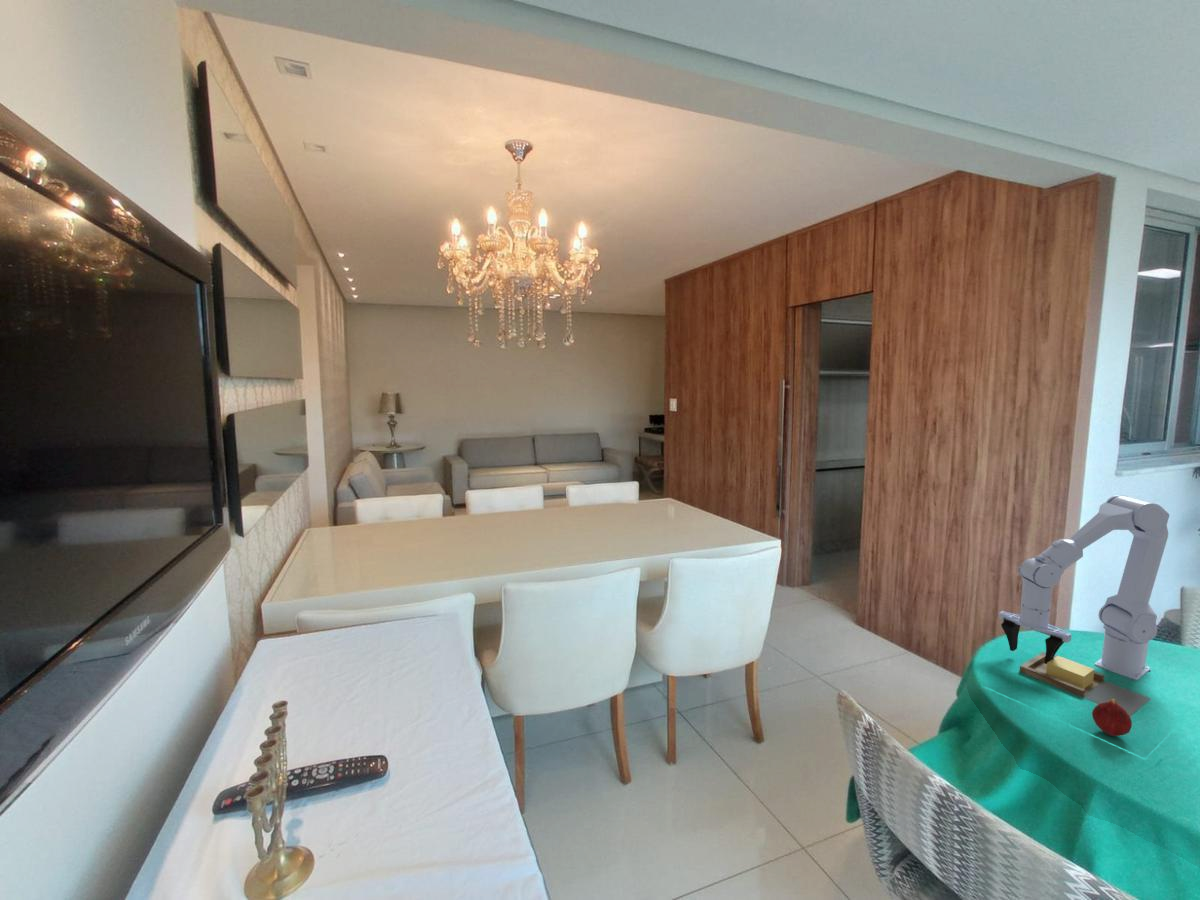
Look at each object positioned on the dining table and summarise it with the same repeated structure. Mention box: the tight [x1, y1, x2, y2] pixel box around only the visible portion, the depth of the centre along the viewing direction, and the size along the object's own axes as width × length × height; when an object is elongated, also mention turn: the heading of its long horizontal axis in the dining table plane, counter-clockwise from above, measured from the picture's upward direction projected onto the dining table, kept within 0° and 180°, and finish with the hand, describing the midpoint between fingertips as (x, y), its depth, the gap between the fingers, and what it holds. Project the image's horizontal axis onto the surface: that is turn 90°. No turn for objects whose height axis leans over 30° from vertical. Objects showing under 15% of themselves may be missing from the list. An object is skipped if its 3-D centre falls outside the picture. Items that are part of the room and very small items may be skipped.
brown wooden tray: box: [1019, 651, 1105, 698], centre depth 128 cm, size 12×12×2 cm
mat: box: [1082, 680, 1151, 718], centre depth 119 cm, size 12×8×1 cm, turn 119°
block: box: [1046, 655, 1095, 689], centre depth 126 cm, size 6×7×4 cm
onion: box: [1091, 698, 1133, 737], centre depth 107 cm, size 6×6×8 cm
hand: (1030, 656), depth 133 cm, fingers open, 7 cm apart
